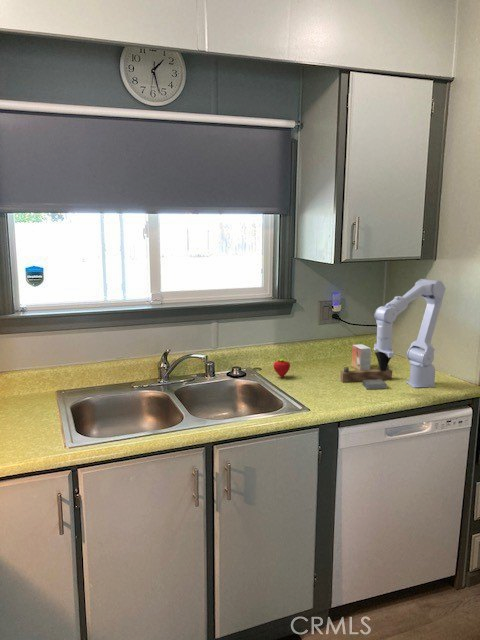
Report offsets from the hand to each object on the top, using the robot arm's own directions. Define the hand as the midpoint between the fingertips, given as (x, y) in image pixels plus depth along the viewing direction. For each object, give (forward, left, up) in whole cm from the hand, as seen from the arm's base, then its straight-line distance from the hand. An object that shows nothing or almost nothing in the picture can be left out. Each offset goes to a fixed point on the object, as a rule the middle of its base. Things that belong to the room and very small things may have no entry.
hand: (382, 370), depth 212 cm
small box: (-4, -34, -10) cm, 36 cm away
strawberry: (+35, -27, -10) cm, 45 cm away
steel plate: (0, -8, -10) cm, 13 cm away
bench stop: (0, -17, -9) cm, 19 cm away
